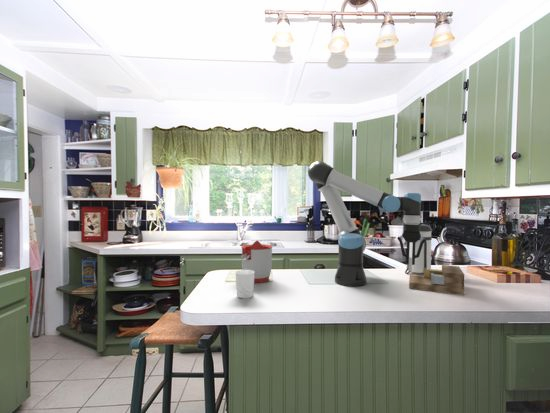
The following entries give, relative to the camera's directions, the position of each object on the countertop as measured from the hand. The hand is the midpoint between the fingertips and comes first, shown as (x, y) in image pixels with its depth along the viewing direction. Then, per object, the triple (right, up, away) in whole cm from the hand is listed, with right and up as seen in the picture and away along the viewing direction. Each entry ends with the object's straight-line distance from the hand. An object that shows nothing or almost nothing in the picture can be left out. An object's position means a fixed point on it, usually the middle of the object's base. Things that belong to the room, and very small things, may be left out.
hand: (410, 270), depth 139 cm
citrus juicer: (-77, -5, 0) cm, 78 cm away
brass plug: (+10, -2, -5) cm, 12 cm away
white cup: (-80, -5, -23) cm, 84 cm away
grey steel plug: (+8, -2, -16) cm, 18 cm away
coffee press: (+13, -5, +16) cm, 21 cm away
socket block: (+7, -5, -9) cm, 13 cm away
